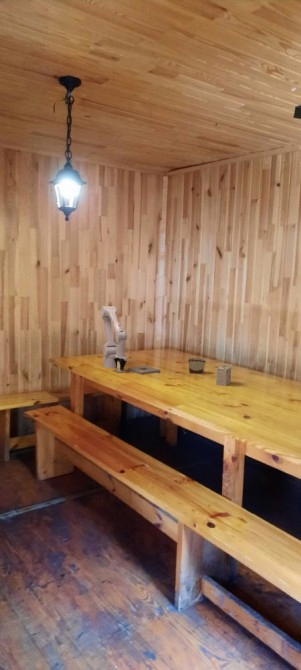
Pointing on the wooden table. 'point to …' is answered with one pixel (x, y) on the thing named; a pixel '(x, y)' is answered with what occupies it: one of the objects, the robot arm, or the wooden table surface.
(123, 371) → the square grey metal plate
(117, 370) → the peg
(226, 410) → the wooden table surface
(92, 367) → the wooden table surface
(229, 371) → the light bulb box
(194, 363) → the food container
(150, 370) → the hole plate
